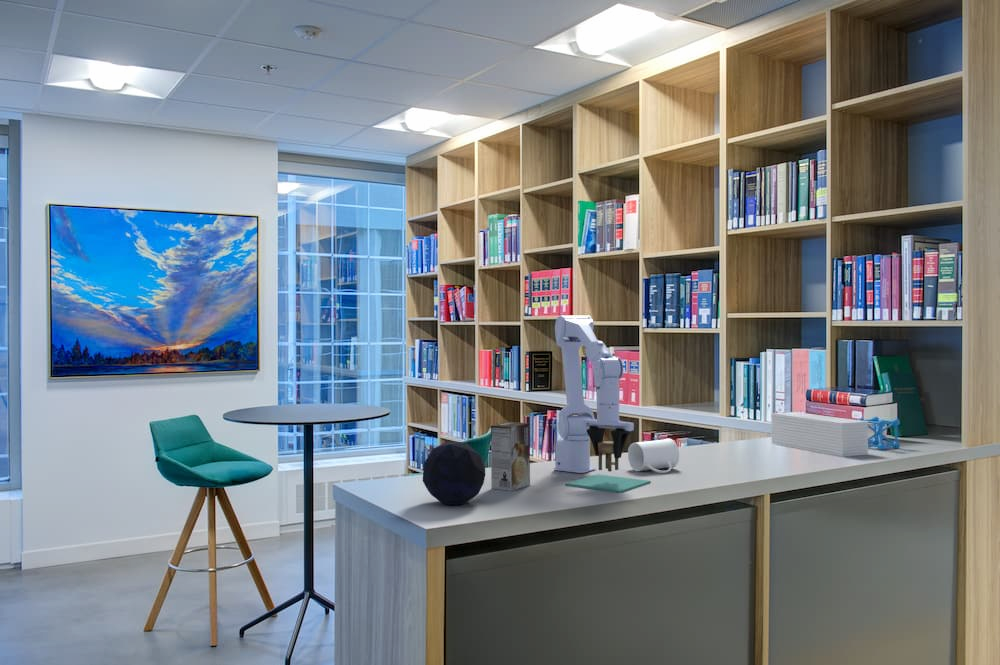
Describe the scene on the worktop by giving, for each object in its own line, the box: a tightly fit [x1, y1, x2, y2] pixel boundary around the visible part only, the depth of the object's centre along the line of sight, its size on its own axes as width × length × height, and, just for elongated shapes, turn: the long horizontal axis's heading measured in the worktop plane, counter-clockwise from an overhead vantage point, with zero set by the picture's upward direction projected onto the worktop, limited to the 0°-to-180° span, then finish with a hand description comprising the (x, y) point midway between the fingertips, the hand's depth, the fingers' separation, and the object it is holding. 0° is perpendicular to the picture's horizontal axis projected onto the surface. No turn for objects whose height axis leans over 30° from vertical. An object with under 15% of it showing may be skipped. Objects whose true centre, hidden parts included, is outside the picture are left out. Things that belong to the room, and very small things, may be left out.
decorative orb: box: [422, 441, 486, 506], centre depth 182 cm, size 14×15×15 cm
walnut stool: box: [598, 440, 619, 472], centre depth 204 cm, size 5×5×7 cm
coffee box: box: [490, 421, 531, 492], centre depth 201 cm, size 9×6×16 cm
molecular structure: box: [856, 415, 901, 451], centre depth 265 cm, size 10×10×10 cm
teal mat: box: [564, 473, 651, 494], centre depth 204 cm, size 16×16×1 cm
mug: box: [627, 437, 680, 474], centre depth 224 cm, size 12×8×12 cm
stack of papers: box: [771, 411, 869, 457], centre depth 264 cm, size 32×11×11 cm, turn 22°
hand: (608, 456), depth 204 cm, fingers closed on walnut stool, 5 cm apart
